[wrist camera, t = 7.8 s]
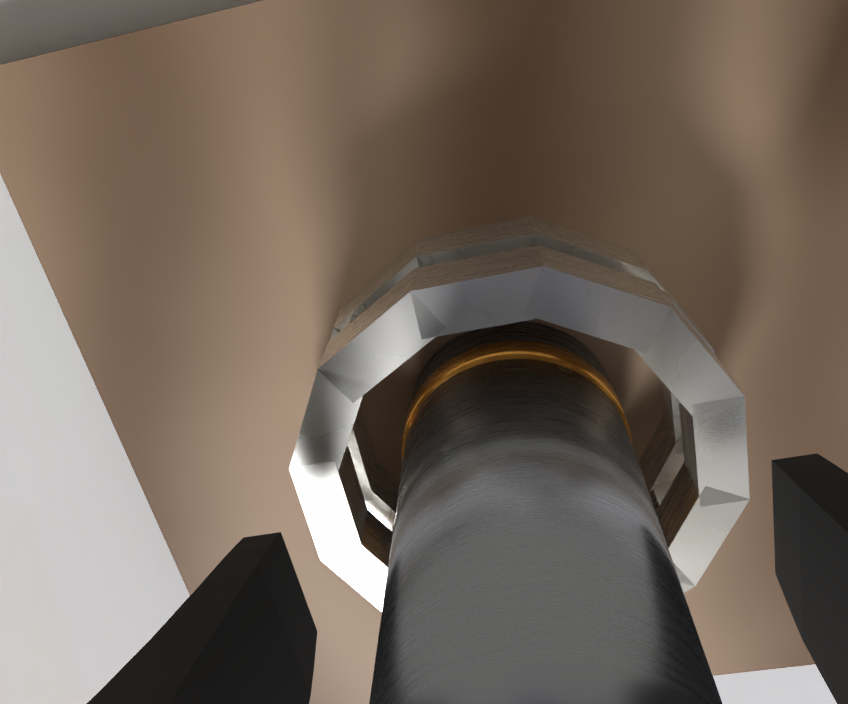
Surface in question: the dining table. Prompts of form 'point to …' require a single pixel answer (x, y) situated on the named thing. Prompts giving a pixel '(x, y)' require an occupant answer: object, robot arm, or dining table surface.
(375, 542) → the collars
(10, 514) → the dining table surface
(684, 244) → the collar board
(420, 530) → the tube
